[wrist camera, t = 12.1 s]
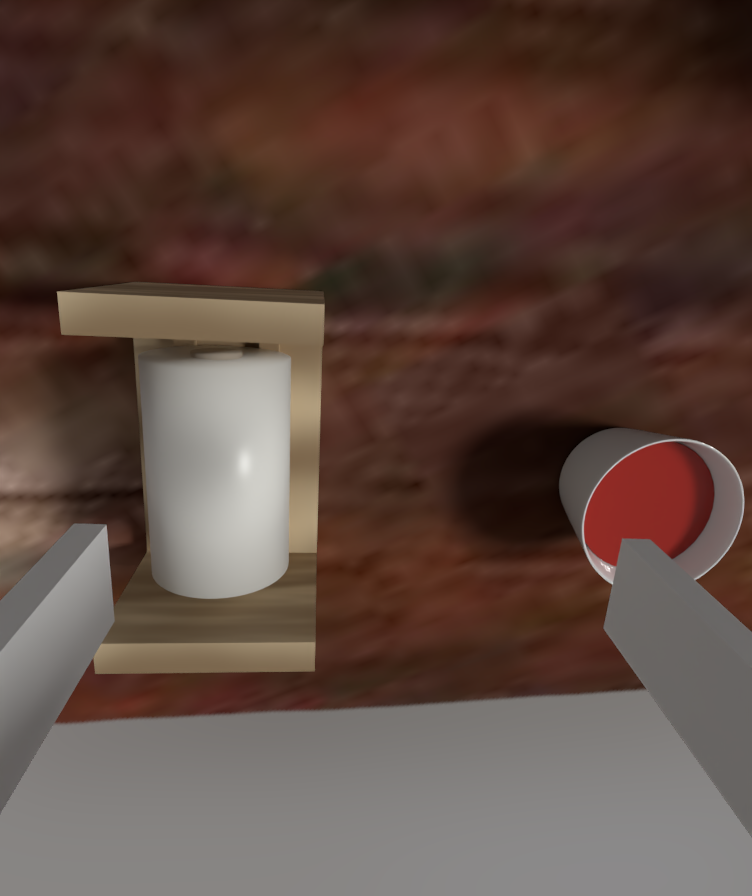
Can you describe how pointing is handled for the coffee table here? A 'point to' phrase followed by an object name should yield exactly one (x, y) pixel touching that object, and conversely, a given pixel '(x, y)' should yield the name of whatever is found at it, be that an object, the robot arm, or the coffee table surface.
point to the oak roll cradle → (293, 595)
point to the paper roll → (216, 467)
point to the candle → (651, 498)
